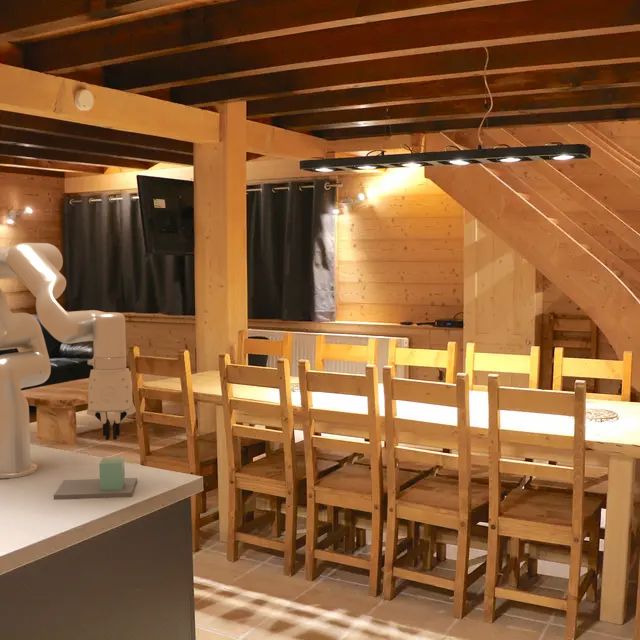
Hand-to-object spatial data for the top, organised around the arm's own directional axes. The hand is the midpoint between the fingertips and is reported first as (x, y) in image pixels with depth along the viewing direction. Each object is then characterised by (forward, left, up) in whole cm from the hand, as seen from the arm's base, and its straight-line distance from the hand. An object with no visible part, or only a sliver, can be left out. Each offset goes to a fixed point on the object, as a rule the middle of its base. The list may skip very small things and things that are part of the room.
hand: (111, 438), depth 186 cm
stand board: (-4, +1, -13) cm, 14 cm away
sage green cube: (0, 0, -12) cm, 12 cm away
